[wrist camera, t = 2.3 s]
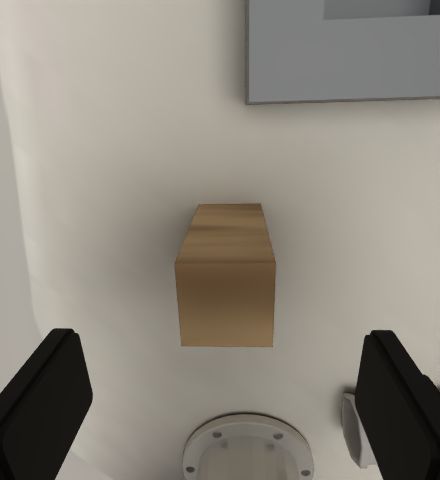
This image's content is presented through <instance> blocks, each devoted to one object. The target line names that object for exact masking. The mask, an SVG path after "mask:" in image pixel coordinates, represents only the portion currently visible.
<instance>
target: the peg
mask: <svg viewBox="0 0 440 480" xmlns="http://www.w3.org/2000/svg"><path fill="white" fill-rule="evenodd" d="M275 271H276V262H275V258H274V254H273V250H272V246H271V242H270V238H269V235H268V231H267V227H266V223H265V219H264V215H263V211H262V207H261V204H199V206H198V208H197V211H196V213H195V215H194V218H193V220H192V223H191V225H190V227H189V230H188V232H187V235H186V237H185V240H184V242H183V244H182V247H181V249H180V252H179V254H178V257H177V259H176V261H175V276H176V288H177V300H178V311H179V323H180V335H181V346H213V347H273V329H274V300H275Z"/></svg>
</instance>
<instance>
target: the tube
mask: <svg viewBox="0 0 440 480" xmlns="http://www.w3.org/2000/svg"><path fill="white" fill-rule="evenodd" d="M341 416H342V424H343V433H344V438H345V441H346V444H347V447H348V450H349V453H350V456H351V458H352V459H353V461H354V462H355V463H356V464H357V465H358V466H359V467H360V468H367V466H368V465H374V464H377V462H376V459H375V457H374V454H373V452H372V449H371V446H370V444H369V441H368V439H367V436H366V433H365V431H364V428H363V426H362V423H361V421H360V418H359V415H358V413H357V410H356V407H355V395H352V394H351V393H343V401H342V412H341Z"/></svg>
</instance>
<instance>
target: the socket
mask: <svg viewBox="0 0 440 480" xmlns="http://www.w3.org/2000/svg"><path fill="white" fill-rule="evenodd" d="M418 99H440V0H246V105H258V104H290V103H322V102H354V101H386V100H418Z"/></svg>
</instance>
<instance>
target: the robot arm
mask: <svg viewBox="0 0 440 480" xmlns="http://www.w3.org/2000/svg"><path fill="white" fill-rule="evenodd" d="M92 398H93V392H92V388H91V384H90V379H89V375H88V371H87V367H86V362H85V358H84V354H83V350H82V345H81V341H80V337H79V334H78V333H75V332H74V330H73V329H62V328H55V329H53V330H52V331H51V332H50V333H49V334H48V335H47V336H46V338H45V339H44V340H43V341H42V343H41V344H40V345H39V346H38V348H37V349H36V350H35V351H34V353H33V354H32V355H31V356H30V357H29V359H28V360H27V361H26V362H25V364H24V365H23V366H22V367H21V369H20V370H19V371H18V373H17V374H16V375H15V376H14V377H13V379H12V380H11V381H10V382H9V383H8V385H7V386H6V387H5V388H4V390H3V391H2V392H1V393H0V480H55V478H56V476H57V474H58V472H59V470H60V468H61V466H62V464H63V462H64V460H65V457H66V455H67V453H68V451H69V449H70V447H71V445H72V443H73V441H74V439H75V437H76V435H77V433H78V430H79V428H80V426H81V424H82V422H83V420H84V418H85V416H86V414H87V412H88V410H89V408H90V406H91V403H92ZM355 407H356V410H357V413H358V415H359V418H360V421H361V423H362V426H363V428H364V431H365V433H366V436H367V439H368V441H369V444H370V446H371V449H372V452H373V454H374V457H375V459H376V462H377V464H378V467H379V470H380V472H381V475H382V477H383V480H440V392H439V391H438V389H437V388H436V386H435V385H434V383H433V382H432V381H431V380H430V378H429V377H428V376H426V375H422V373H421V372H420V370H419V369H418V367H417V366H416V364H415V363H414V361H413V360H412V358H411V357H410V356H409V354H408V353H407V351H406V350H405V348H404V347H403V345H402V344H401V342H400V341H399V339H398V338H397V336H396V335H395V333H394V332H393V331H391V330H373V331H371V333H370V335H366V336H365V339H364V344H363V350H362V356H361V362H360V368H359V374H358V380H357V386H356V392H355ZM182 468H183V474H184V477H185V479H186V480H312V479H313V473H314V464H313V459H312V455H311V451H310V448H309V446H308V444H307V442H306V441H305V439H304V438H303V437H302V436H301V435H300V434H299V433H298V432H297V431H296V430H294V429H293V428H291V427H290V426H288V425H286V424H284V423H282V422H280V421H278V420H275V419H272V418H269V417H266V416H259V415H251V414H239V415H231V416H226V417H222V418H219V419H216V420H213V421H211V422H209V423H207V424H205V425H204V426H202V427H201V428H199V429H198V430H197V431H196V432H195V433H194V434H193V435H192V436H191V437H190V439H189V440H188V442H187V444H186V446H185V450H184V454H183V463H182Z"/></svg>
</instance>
